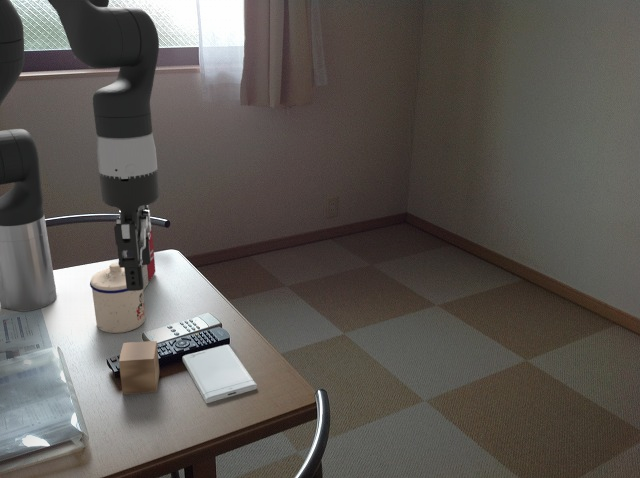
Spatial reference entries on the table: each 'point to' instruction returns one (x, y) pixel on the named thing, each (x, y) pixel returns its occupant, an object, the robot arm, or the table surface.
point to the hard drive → (218, 373)
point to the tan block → (139, 367)
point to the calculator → (146, 269)
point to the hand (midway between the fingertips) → (139, 276)
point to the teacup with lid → (116, 301)
